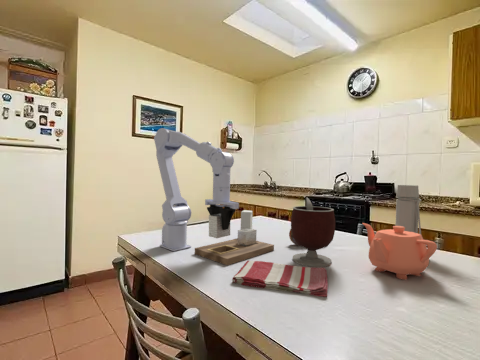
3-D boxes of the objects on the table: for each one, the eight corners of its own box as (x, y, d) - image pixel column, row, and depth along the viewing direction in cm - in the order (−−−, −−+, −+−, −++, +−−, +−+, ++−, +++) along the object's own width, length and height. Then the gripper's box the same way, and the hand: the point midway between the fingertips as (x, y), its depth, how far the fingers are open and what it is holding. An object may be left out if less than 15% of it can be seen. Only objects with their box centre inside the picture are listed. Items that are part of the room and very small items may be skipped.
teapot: (372, 278, 72) (374, 229, 72) (360, 260, 88) (361, 219, 88) (441, 286, 68) (443, 233, 68) (415, 265, 84) (416, 223, 84)
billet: (208, 236, 88) (208, 215, 87) (222, 233, 92) (222, 213, 92) (216, 238, 85) (216, 216, 85) (230, 235, 89) (230, 214, 89)
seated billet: (237, 249, 98) (237, 230, 98) (248, 246, 102) (248, 228, 102) (245, 251, 95) (245, 232, 95) (256, 248, 100) (256, 229, 99)
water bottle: (389, 250, 101) (391, 184, 101) (404, 249, 103) (406, 184, 103) (411, 257, 92) (413, 185, 92) (427, 255, 95) (430, 186, 94)
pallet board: (194, 253, 91) (194, 247, 91) (242, 242, 109) (242, 236, 109) (227, 265, 80) (227, 258, 80) (273, 250, 98) (274, 244, 98)
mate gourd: (340, 268, 80) (342, 202, 79) (294, 267, 80) (296, 201, 79) (324, 253, 95) (326, 197, 95) (286, 252, 95) (287, 196, 95)
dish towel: (328, 300, 60) (328, 288, 60) (230, 285, 67) (230, 275, 67) (326, 274, 76) (326, 265, 76) (247, 264, 83) (247, 256, 83)
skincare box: (249, 240, 112) (250, 212, 111) (240, 239, 112) (240, 211, 112) (252, 237, 118) (252, 210, 117) (242, 236, 118) (243, 209, 118)
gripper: (198, 187, 91) (197, 226, 91) (227, 189, 81) (226, 233, 81) (214, 186, 96) (213, 224, 96) (243, 188, 86) (242, 230, 86)
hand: (220, 228), depth 89 cm, fingers closed on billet, 4 cm apart
